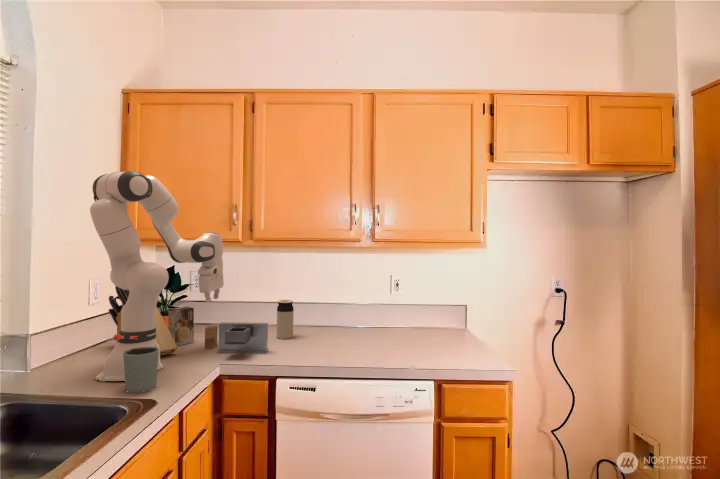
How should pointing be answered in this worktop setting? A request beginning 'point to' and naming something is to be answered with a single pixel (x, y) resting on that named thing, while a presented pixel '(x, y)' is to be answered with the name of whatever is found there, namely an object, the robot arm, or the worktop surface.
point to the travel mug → (285, 319)
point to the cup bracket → (243, 337)
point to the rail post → (211, 337)
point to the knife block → (162, 333)
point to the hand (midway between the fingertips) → (212, 300)
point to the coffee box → (181, 324)
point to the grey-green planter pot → (140, 368)
